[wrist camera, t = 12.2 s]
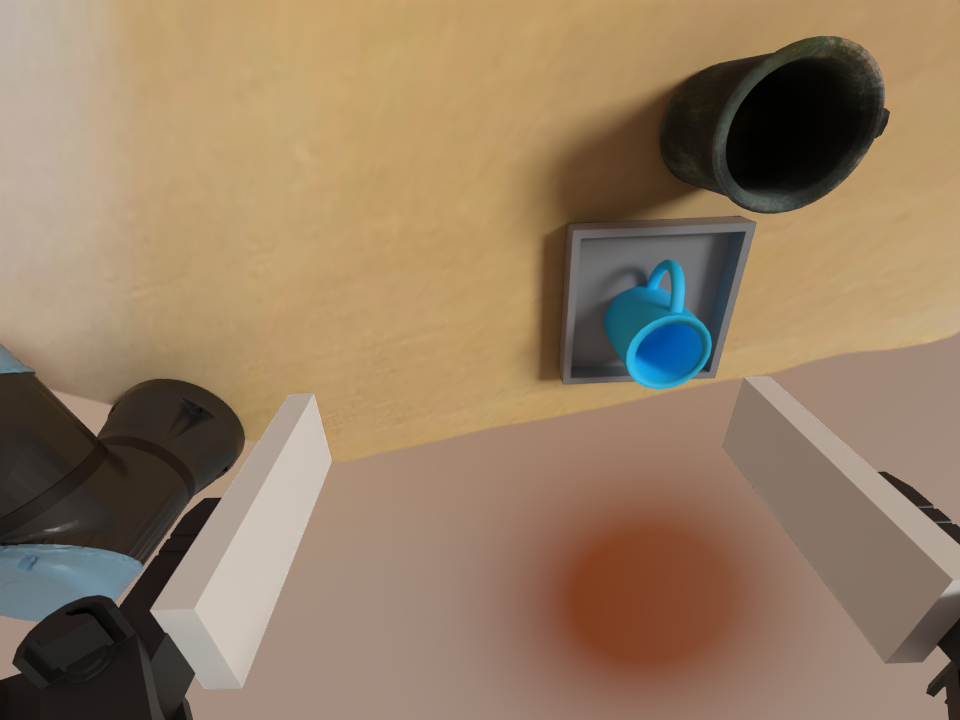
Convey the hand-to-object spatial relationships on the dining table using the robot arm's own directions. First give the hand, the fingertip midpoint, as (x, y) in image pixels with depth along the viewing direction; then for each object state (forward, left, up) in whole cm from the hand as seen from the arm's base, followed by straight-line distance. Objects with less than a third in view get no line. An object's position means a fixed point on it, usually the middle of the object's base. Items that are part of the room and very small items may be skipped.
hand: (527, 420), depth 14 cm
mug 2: (+23, +6, -35) cm, 42 cm away
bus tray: (+17, -11, -34) cm, 40 cm away
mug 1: (+17, -11, -34) cm, 39 cm away
